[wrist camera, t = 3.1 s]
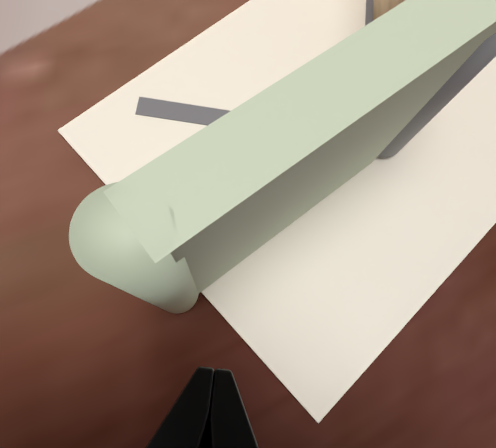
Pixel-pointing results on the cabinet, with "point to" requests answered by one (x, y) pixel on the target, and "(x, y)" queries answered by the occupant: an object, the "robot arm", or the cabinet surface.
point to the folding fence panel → (280, 152)
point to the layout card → (326, 211)
